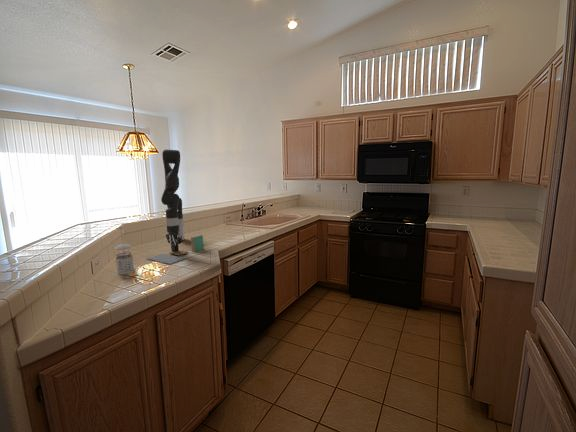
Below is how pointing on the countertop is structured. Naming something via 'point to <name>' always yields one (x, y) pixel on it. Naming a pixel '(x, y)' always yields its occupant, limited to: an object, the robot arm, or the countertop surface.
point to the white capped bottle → (124, 259)
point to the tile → (197, 243)
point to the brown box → (178, 252)
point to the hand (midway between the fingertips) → (174, 249)
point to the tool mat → (166, 259)
